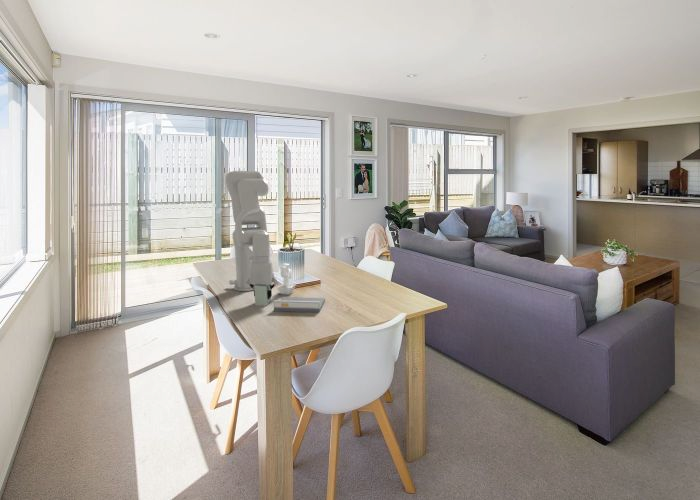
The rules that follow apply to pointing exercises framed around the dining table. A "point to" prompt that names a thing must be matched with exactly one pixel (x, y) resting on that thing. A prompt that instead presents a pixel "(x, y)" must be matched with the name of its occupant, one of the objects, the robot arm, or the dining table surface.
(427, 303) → the dining table surface
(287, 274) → the figurine
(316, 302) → the grey flat box
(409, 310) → the dining table surface
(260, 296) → the tea box
